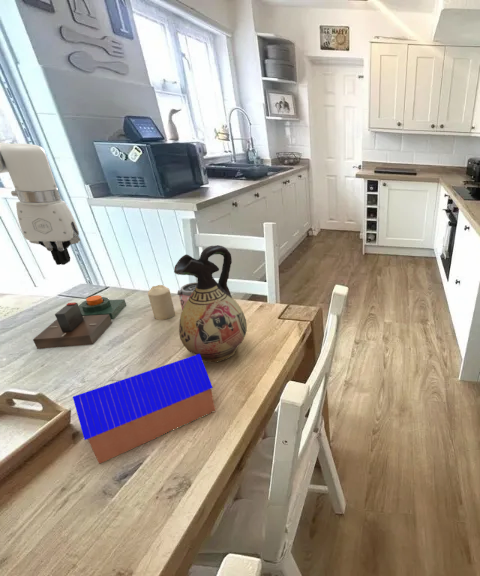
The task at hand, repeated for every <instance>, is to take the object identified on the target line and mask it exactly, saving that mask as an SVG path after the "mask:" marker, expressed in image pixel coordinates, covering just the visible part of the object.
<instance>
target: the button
mask: <svg viewBox="0 0 480 576" xmlns="http://www.w3.org/2000/svg"><path fill="white" fill-rule="evenodd" d="M102 297H103V296H102V295H99V294H98V295H91V296H88V297H87V298H86V299H85V301H87V304H88V305H97V304H100V303H102V302H103V299H102Z"/></svg>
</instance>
